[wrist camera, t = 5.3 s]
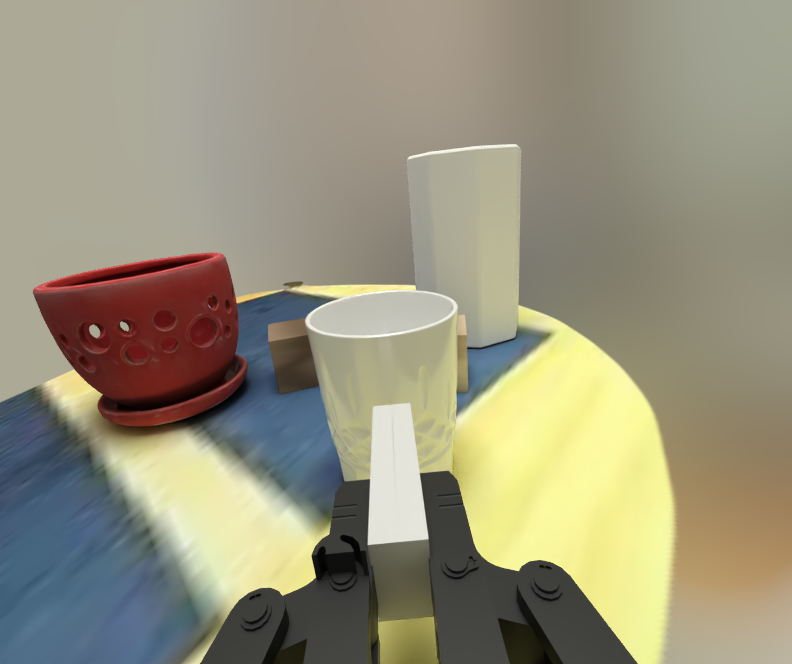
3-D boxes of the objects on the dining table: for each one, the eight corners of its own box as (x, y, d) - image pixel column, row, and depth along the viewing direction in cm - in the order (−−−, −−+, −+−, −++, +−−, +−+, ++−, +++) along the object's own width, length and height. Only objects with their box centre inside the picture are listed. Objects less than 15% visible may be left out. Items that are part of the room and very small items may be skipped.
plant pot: (254, 357, 43) (229, 245, 39) (256, 416, 31) (219, 264, 27) (117, 384, 39) (73, 264, 35) (60, 463, 28) (-16, 296, 23)
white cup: (326, 444, 27) (301, 302, 23) (435, 419, 29) (427, 283, 25) (343, 535, 20) (310, 349, 16) (487, 493, 21) (485, 317, 18)
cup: (425, 354, 40) (411, 151, 33) (414, 319, 50) (403, 160, 44) (535, 343, 40) (543, 139, 33) (502, 311, 50) (503, 151, 44)
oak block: (406, 394, 33) (401, 337, 31) (412, 367, 37) (408, 317, 36) (468, 393, 32) (466, 335, 30) (466, 366, 36) (464, 314, 35)
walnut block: (280, 395, 34) (268, 341, 33) (278, 372, 39) (268, 324, 37) (337, 383, 36) (328, 330, 34) (329, 362, 40) (321, 315, 38)
